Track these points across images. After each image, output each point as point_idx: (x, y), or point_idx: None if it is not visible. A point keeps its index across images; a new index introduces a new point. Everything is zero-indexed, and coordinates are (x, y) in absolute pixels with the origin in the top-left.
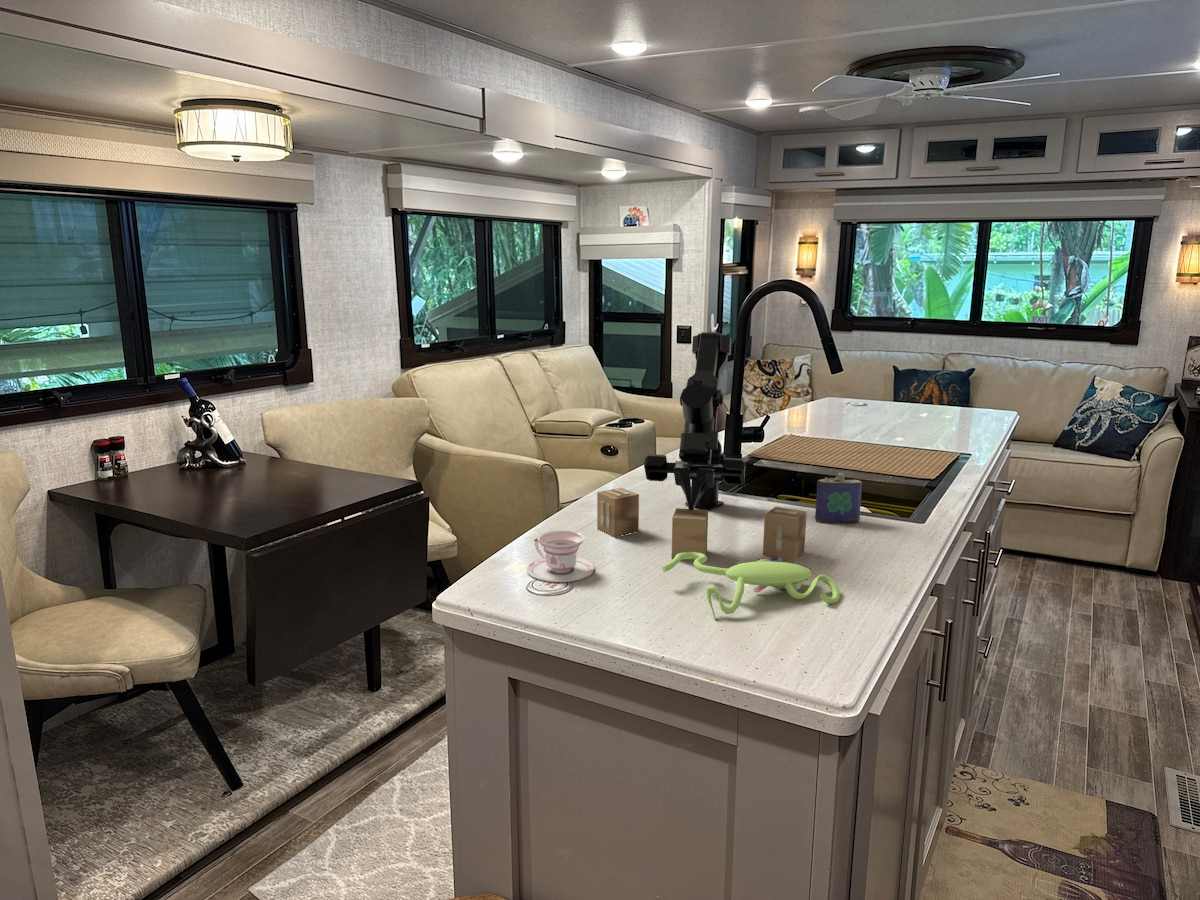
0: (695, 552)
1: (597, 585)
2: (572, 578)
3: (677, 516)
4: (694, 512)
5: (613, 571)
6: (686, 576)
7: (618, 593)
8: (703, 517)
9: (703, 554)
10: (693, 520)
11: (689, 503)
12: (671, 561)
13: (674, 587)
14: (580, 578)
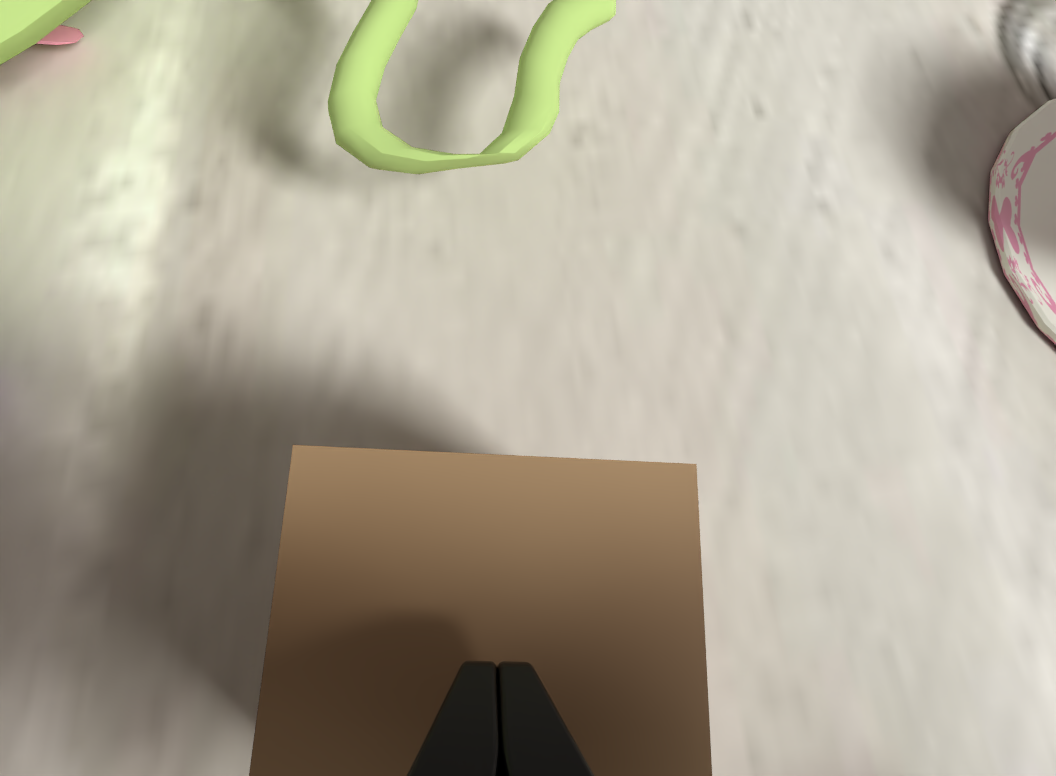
0: (414, 158)
1: (906, 85)
2: (1054, 149)
3: (643, 514)
4: None
5: (894, 266)
6: (471, 243)
7: (781, 11)
8: (316, 526)
9: (353, 121)
10: (443, 456)
11: (523, 700)
12: (568, 8)
13: None
14: (1015, 128)
